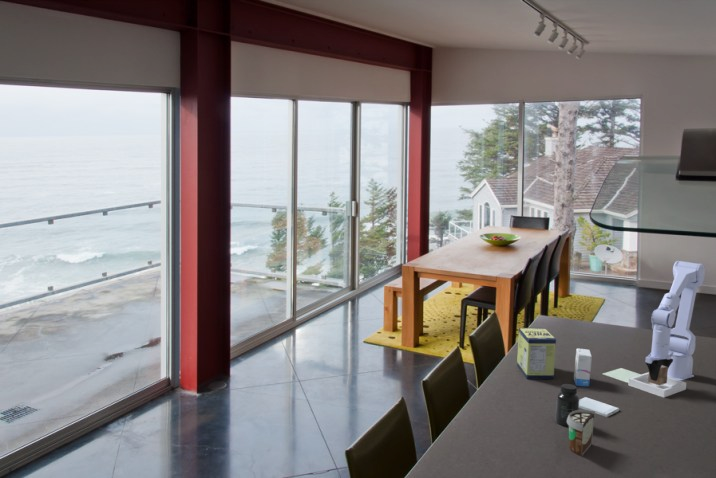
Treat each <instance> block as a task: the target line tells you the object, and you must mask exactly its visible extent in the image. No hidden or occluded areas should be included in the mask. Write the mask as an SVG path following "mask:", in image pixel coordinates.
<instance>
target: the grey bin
mask: <svg viewBox="0 0 716 478" xmlns="http://www.w3.org/2000/svg"><path fill="white" fill-rule="evenodd" d="M648 377H649V371H648V372H645V373H641V375H638V376H635V377H632V378H629V382H628V383H627V384H628V386H629V387H632V388H635V389H638V390H641V391H643V392H646V393H649V394H653V395H655V396H658V397H661V398H666V397H670V396H672V395H674V394H677V393H680V392H683V391H685V390H687V381H686V382H685V381H684V380H677V379H674V378H671V377H668V376H667V383H665V384H663V385H660V386H659V385H656V384H653V383H650V382H648Z"/></svg>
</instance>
